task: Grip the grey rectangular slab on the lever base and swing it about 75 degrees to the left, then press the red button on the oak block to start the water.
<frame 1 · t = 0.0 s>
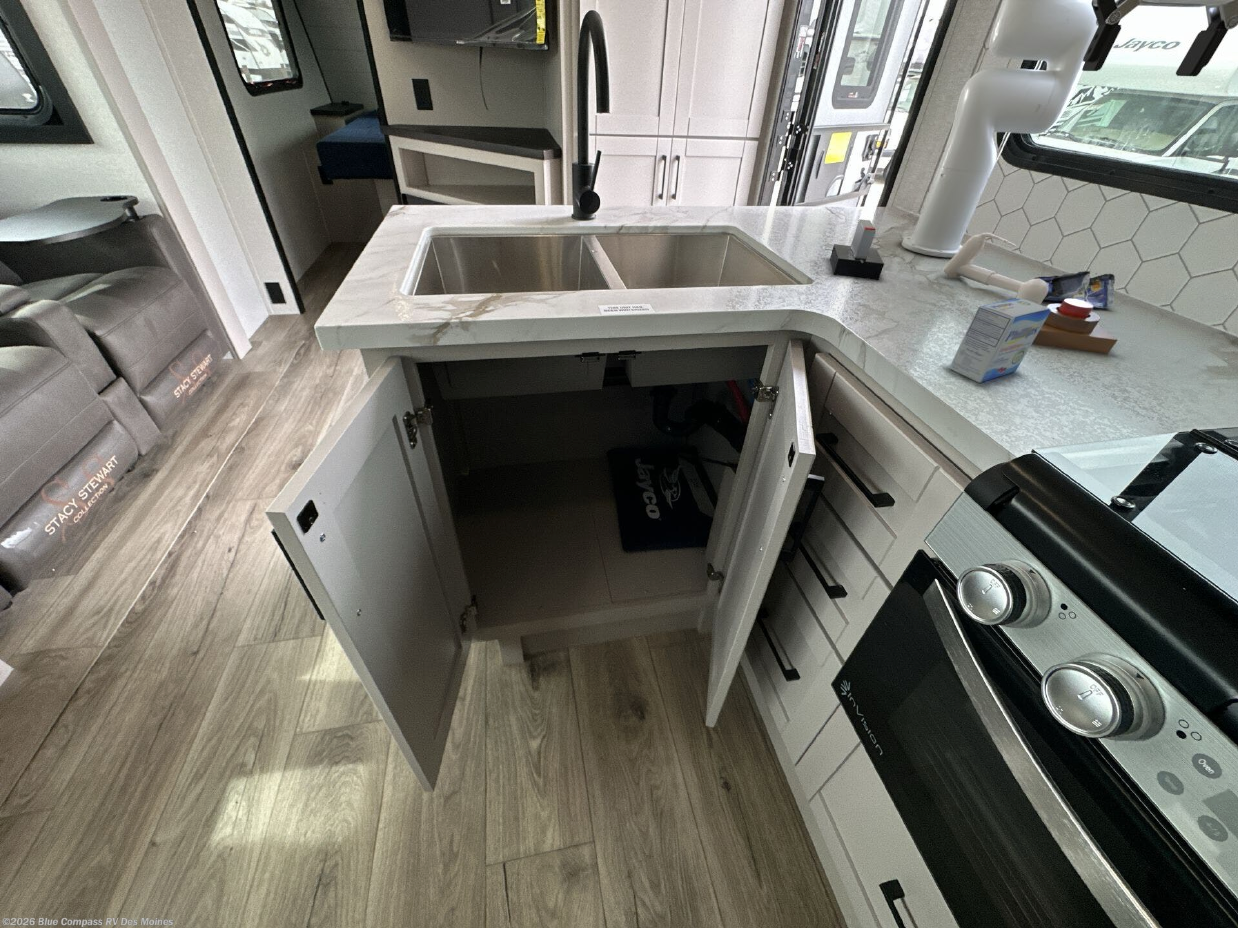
hand: (1137, 73, 59), 31 cm above the worktop, tool pointing down, fingers open, 9 cm apart
medicine box: (980, 372, 67), on the worktop
lever base: (852, 269, 99), on the worktop
grey rectangular slab: (862, 238, 95), point 6 cm above the worktop, hinge at 0.0°
snack package: (1062, 301, 90), on the worktop
button: (1075, 309, 74), point 4 cm above the worktop, slide at 0.1 cm
faucet: (986, 291, 93), on the worktop
button block: (1057, 337, 77), on the worktop
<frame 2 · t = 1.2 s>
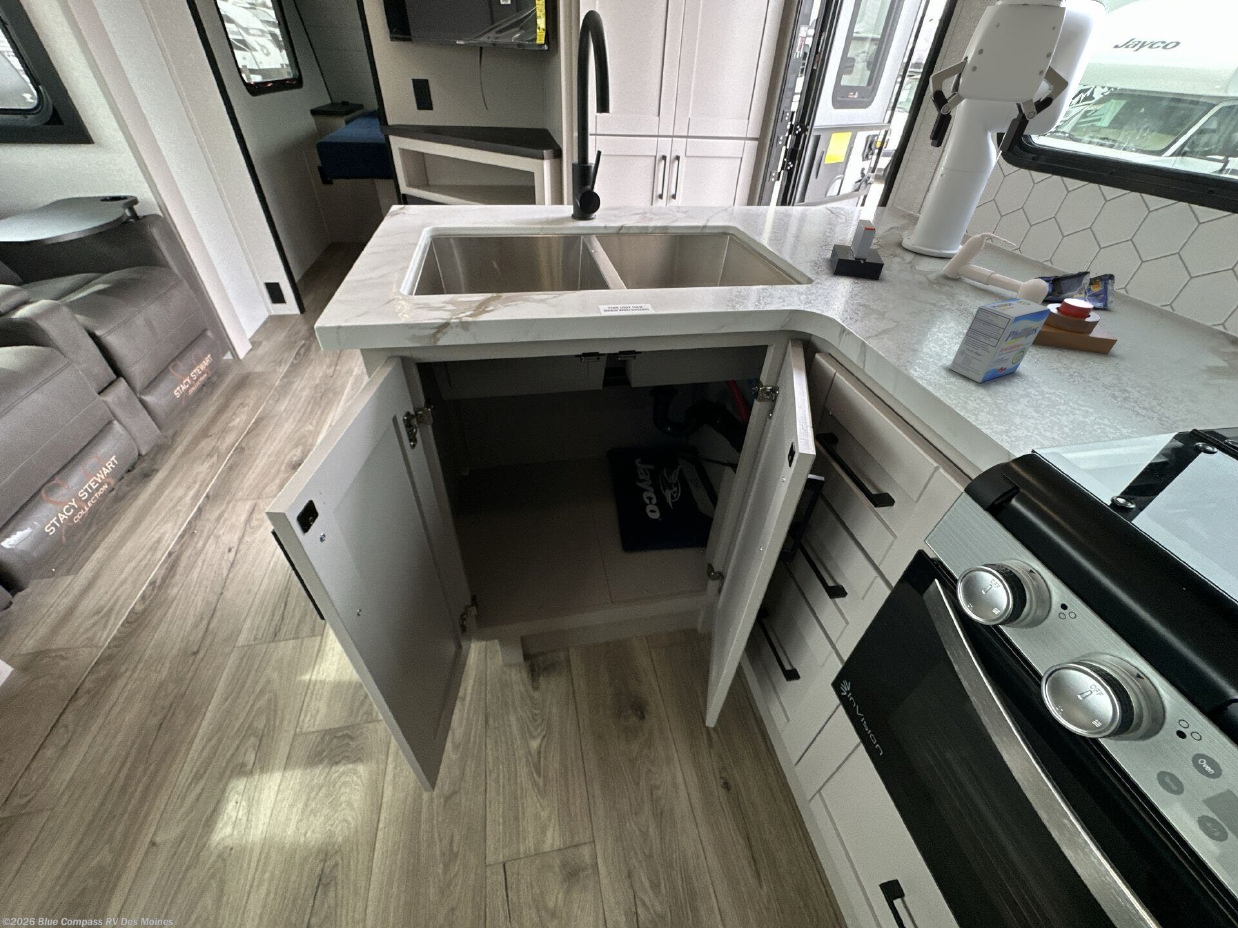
hand: (969, 149, 76), 22 cm above the worktop, tool pointing down, fingers open, 9 cm apart
nothing on the worktop moved.
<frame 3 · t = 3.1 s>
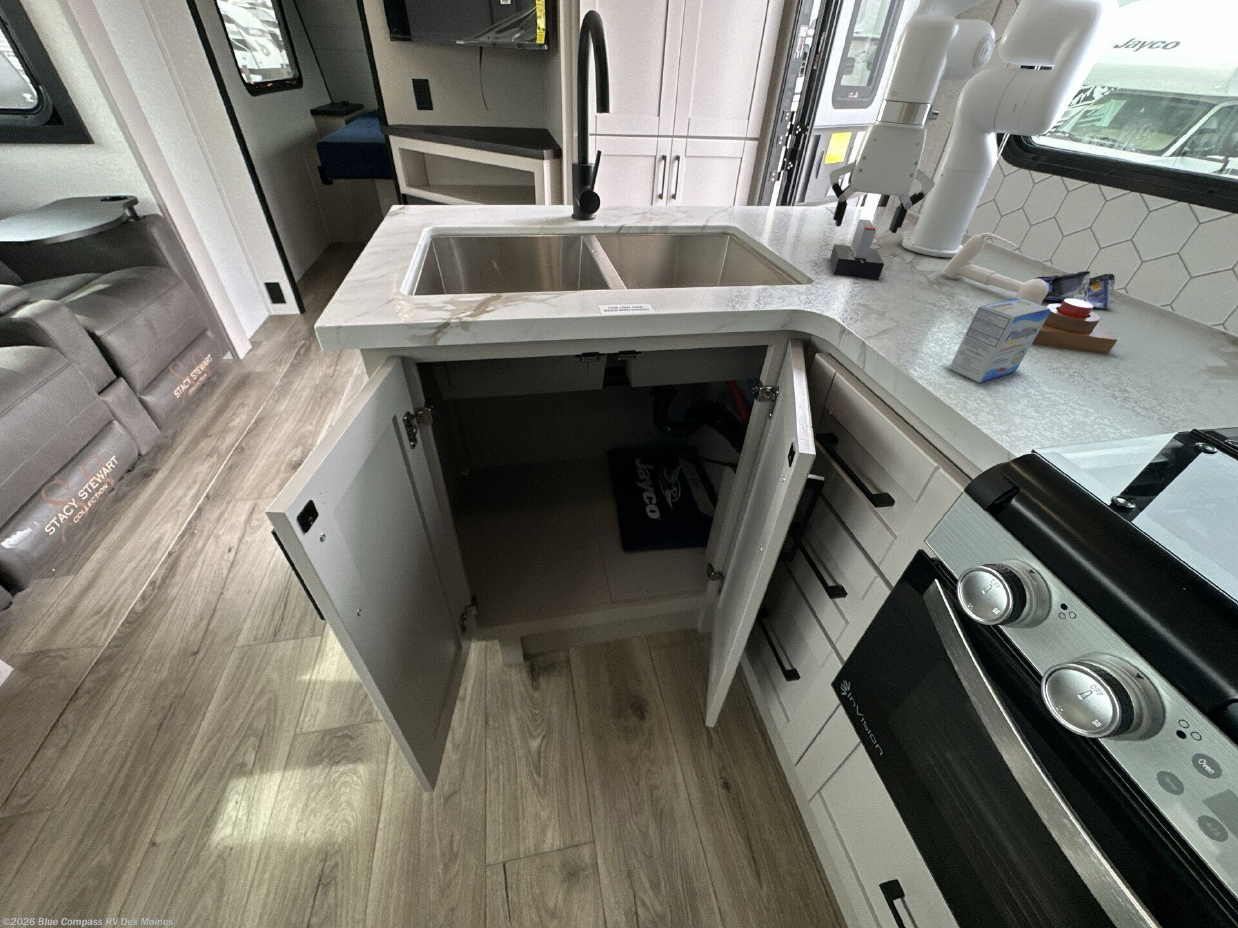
hand: (864, 228, 94), 8 cm above the worktop, tool pointing down, fingers open, 9 cm apart
nothing on the worktop moved.
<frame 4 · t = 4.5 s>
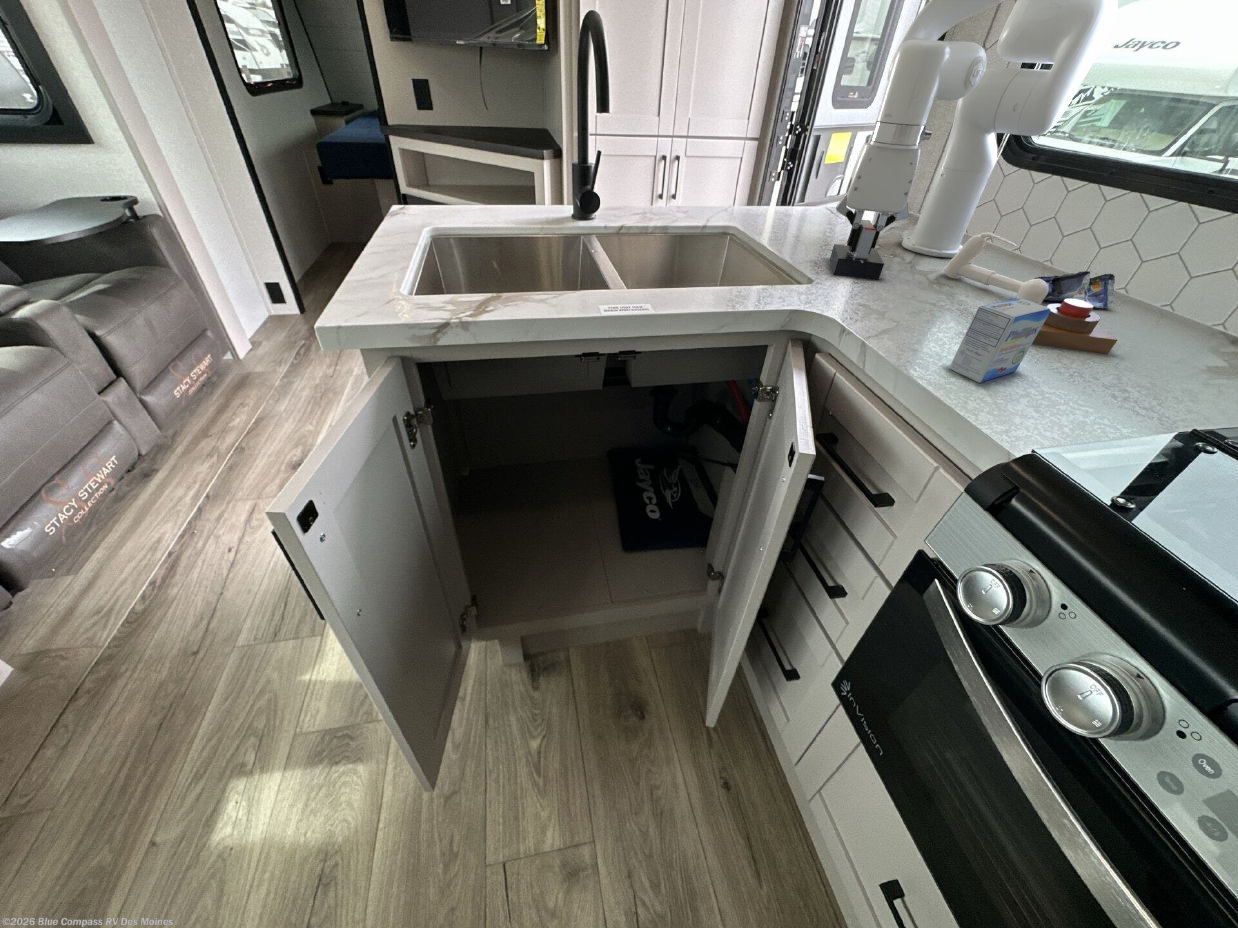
hand: (859, 250, 97), 4 cm above the worktop, tool pointing down, fingers closed on grey rectangular slab, 2 cm apart
grey rectangular slab: (862, 238, 95), point 6 cm above the worktop, hinge at 0.0°, touching gripper
everything else where it was.
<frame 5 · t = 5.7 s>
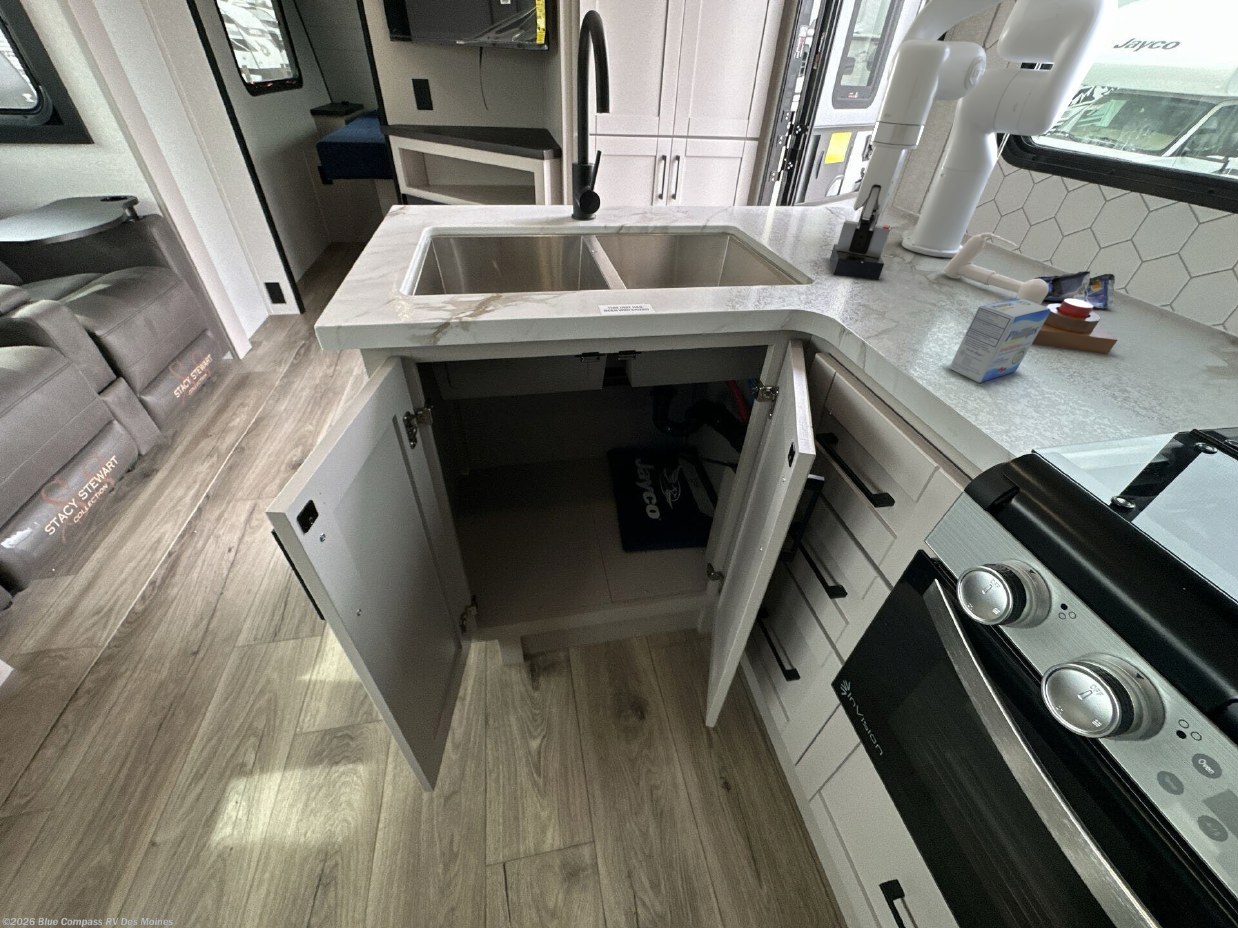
hand: (858, 250, 97), 4 cm above the worktop, tool pointing down, fingers closed on grey rectangular slab, 2 cm apart
grey rectangular slab: (862, 238, 95), point 6 cm above the worktop, hinge at 74.6°, touching gripper
everything else where it was.
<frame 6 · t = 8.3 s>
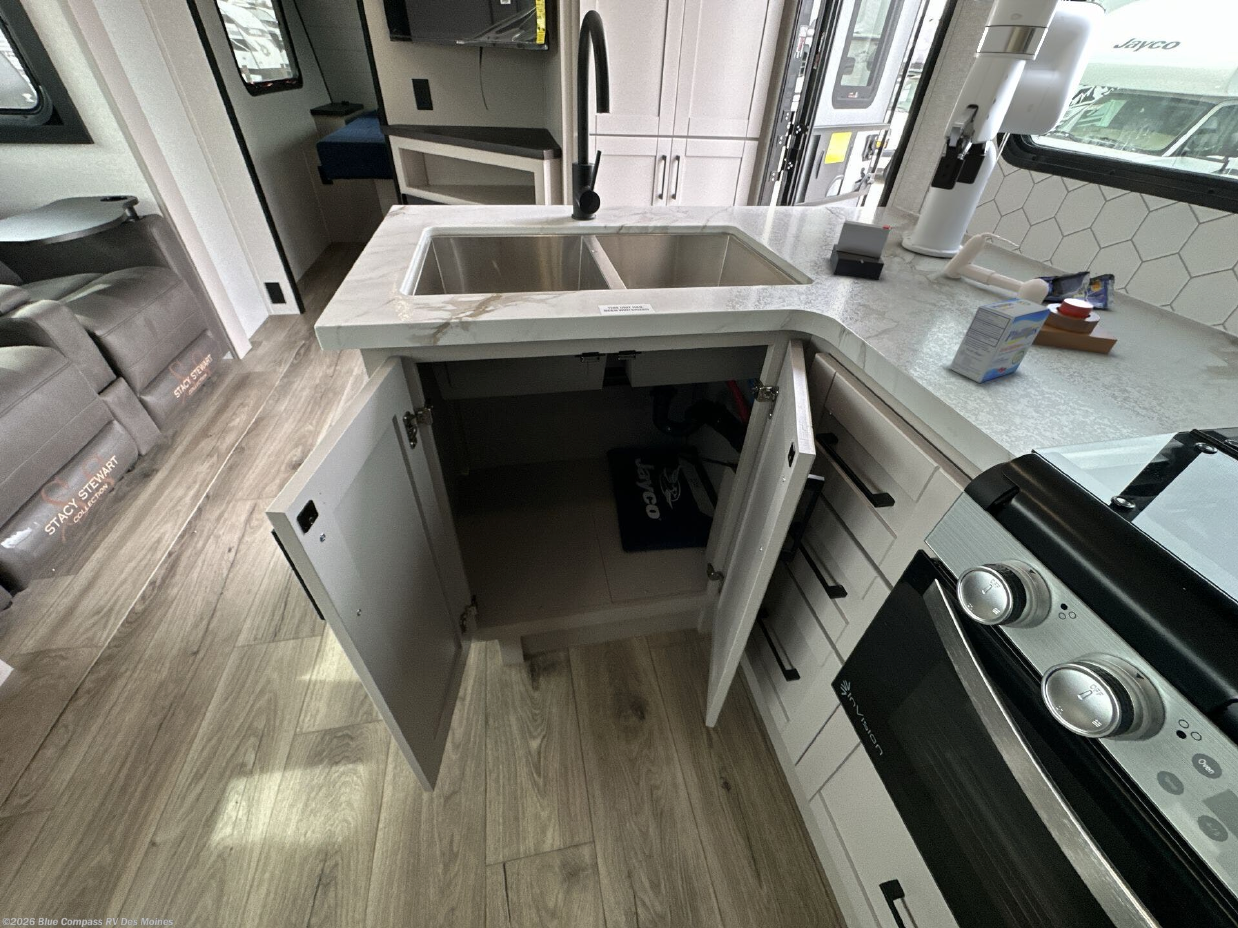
hand: (952, 185, 81), 17 cm above the worktop, tool pointing down, fingers open, 9 cm apart
grey rectangular slab: (862, 238, 95), point 6 cm above the worktop, hinge at 74.7°
everything else where it was.
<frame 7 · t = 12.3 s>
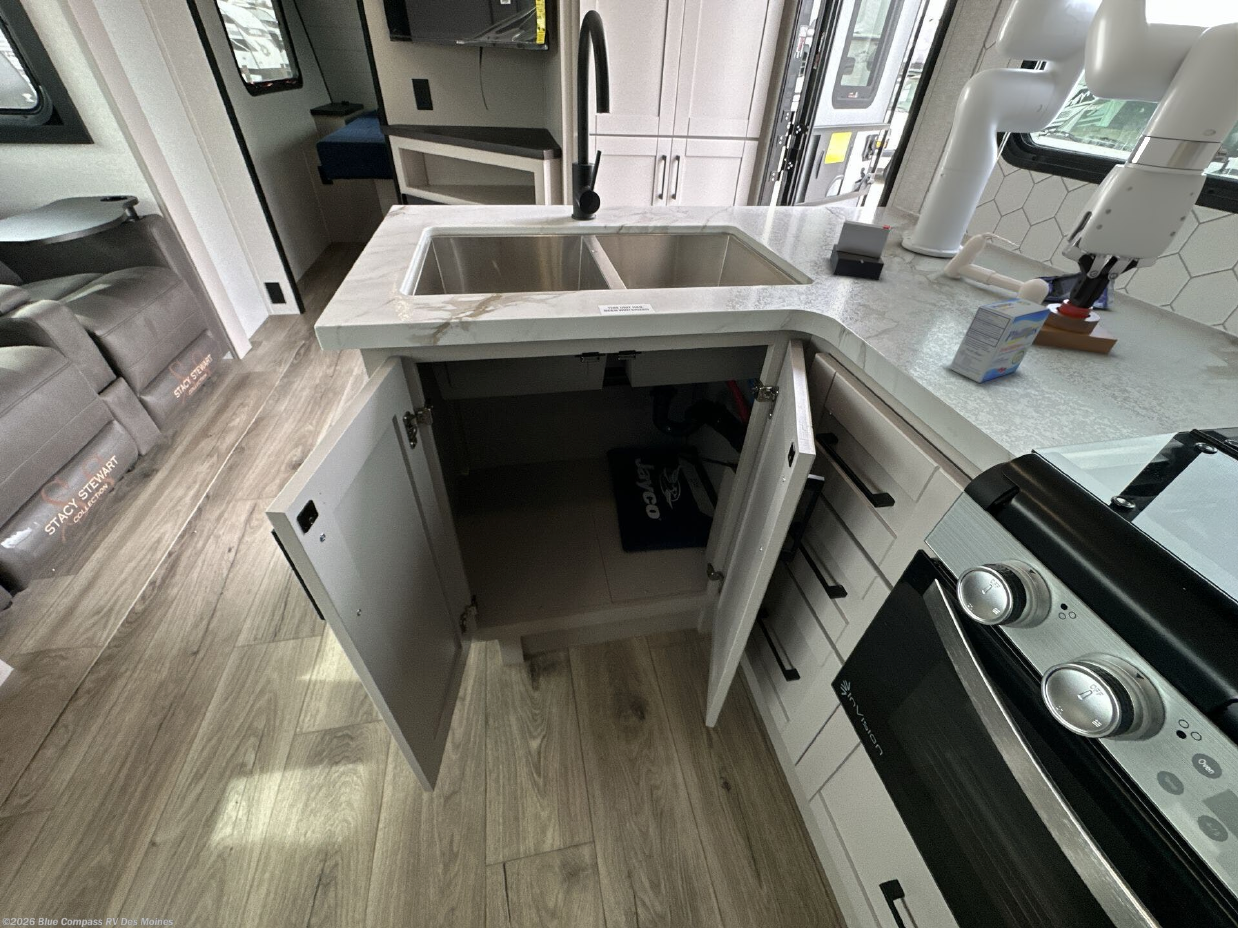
hand: (1079, 304, 73), 5 cm above the worktop, tool pointing down, fingers closed
button: (1074, 310, 74), point 4 cm above the worktop, slide at -0.1 cm, touching gripper
everything else where it was.
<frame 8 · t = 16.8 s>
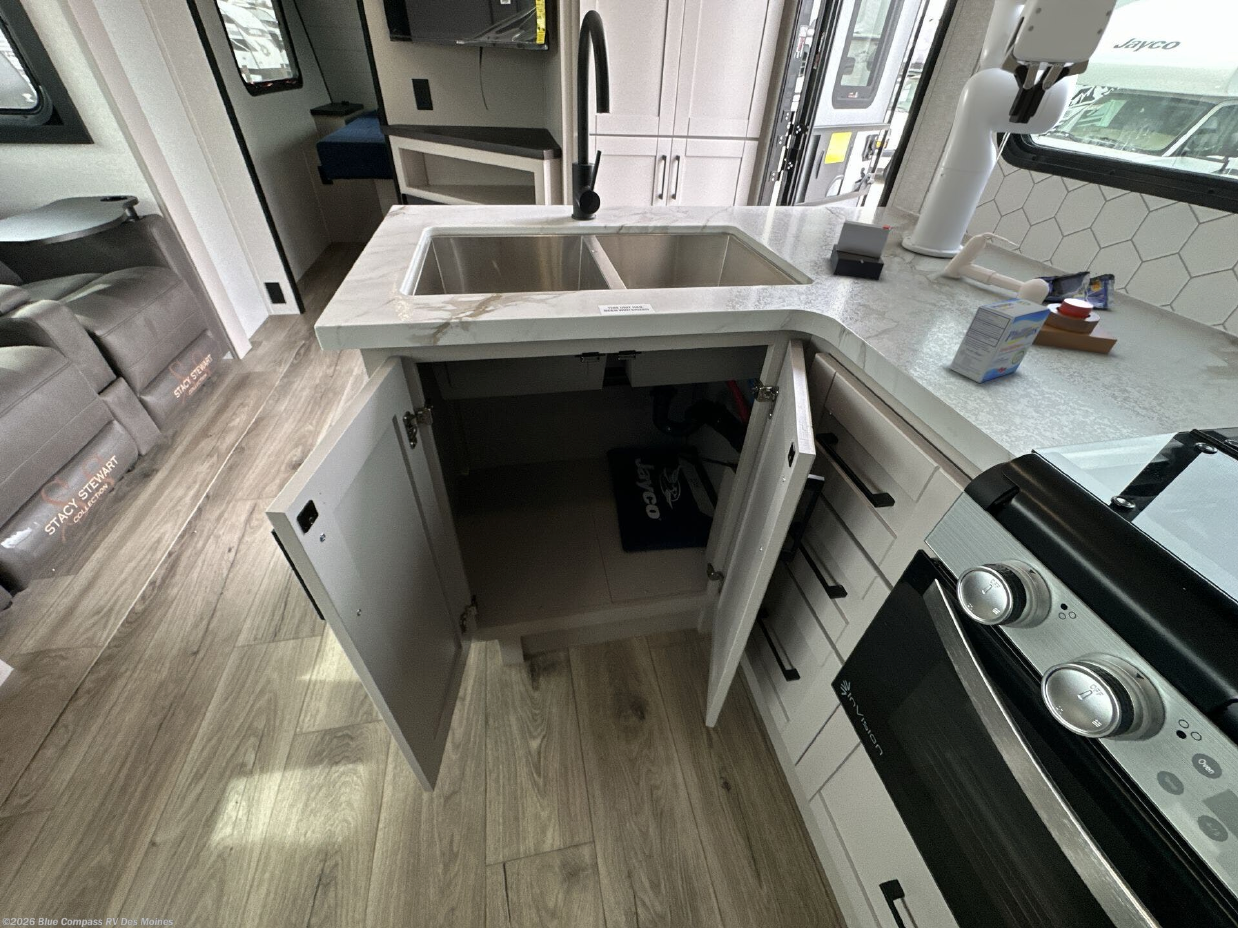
hand: (1017, 122, 76), 25 cm above the worktop, tool pointing down, fingers closed
button: (1075, 309, 74), point 4 cm above the worktop, slide at 0.1 cm
everything else where it was.
at the end: grey rectangular slab at +75° (first picture: +0°); button pushed in 1.1 cm at the most during the clip, back to where it started at the end; button slide at 0.1 cm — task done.
